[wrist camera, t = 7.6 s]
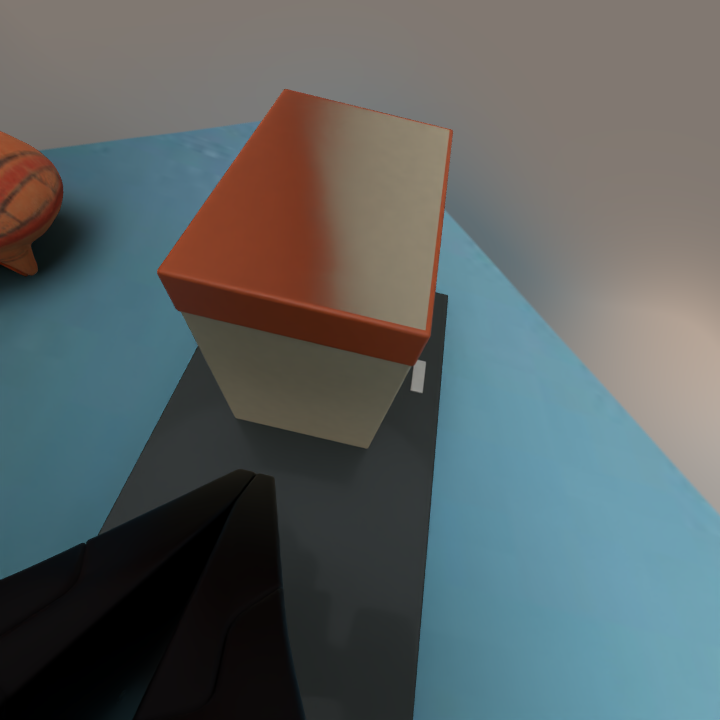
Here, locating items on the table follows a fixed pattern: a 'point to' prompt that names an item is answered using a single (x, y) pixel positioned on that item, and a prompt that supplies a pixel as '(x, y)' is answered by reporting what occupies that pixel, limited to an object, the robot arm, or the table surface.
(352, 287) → the chalk box
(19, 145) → the pot
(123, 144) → the table surface
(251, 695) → the robot arm
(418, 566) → the slate board
